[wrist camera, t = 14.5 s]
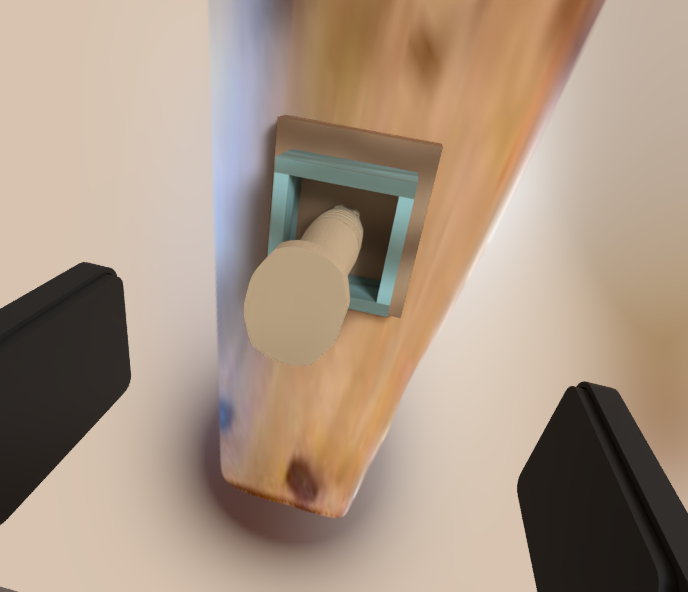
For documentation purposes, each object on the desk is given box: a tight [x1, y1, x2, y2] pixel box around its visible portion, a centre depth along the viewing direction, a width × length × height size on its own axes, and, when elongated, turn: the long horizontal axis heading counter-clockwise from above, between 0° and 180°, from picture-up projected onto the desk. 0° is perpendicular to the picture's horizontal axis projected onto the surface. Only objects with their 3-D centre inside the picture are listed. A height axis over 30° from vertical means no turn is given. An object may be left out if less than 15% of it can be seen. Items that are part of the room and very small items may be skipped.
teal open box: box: [267, 115, 443, 318], centre depth 34 cm, size 14×12×6 cm
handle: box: [244, 204, 363, 366], centre depth 28 cm, size 5×6×15 cm
